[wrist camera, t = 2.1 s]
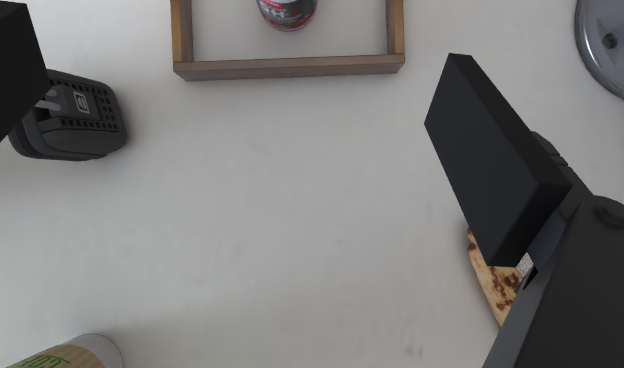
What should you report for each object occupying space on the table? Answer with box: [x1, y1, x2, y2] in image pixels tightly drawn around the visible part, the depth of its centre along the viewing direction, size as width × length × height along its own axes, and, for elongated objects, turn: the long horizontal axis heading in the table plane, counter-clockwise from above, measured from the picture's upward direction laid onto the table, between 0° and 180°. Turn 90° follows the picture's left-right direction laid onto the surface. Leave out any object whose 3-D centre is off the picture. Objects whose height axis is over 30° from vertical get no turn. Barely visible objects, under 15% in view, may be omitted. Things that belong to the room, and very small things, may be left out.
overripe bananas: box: [467, 227, 523, 327], centre depth 36 cm, size 9×5×18 cm
